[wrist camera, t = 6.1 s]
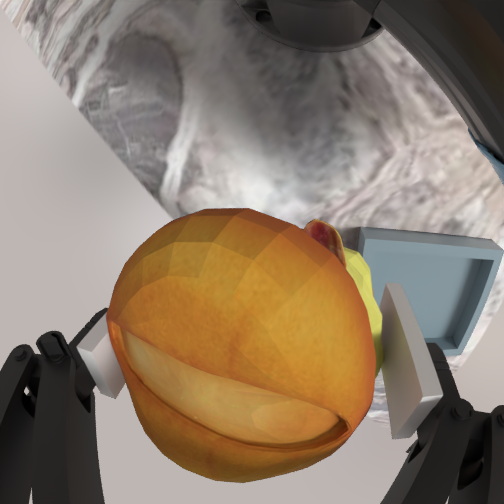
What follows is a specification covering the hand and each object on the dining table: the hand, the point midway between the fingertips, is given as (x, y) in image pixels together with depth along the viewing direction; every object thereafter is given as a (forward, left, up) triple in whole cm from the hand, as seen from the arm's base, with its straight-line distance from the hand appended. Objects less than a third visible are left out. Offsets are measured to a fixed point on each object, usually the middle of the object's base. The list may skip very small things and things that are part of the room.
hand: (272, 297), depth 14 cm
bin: (+10, +16, -16) cm, 24 cm away
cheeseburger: (0, 0, -1) cm, 1 cm away
